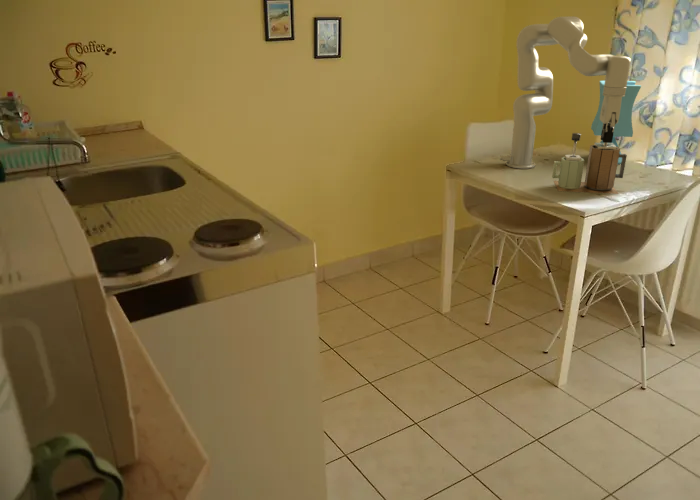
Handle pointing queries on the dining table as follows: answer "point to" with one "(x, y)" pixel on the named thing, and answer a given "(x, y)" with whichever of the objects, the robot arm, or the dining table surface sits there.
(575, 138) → the green press plunger
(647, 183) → the dining table surface
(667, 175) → the dining table surface
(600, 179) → the brown coffee press
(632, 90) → the planter
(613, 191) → the walnut board
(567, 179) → the green press
